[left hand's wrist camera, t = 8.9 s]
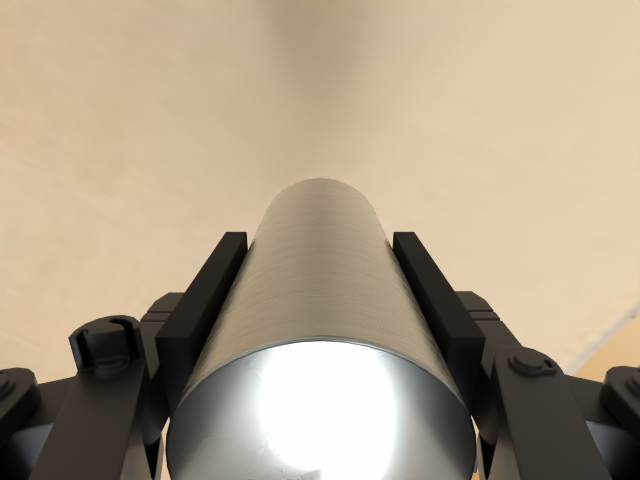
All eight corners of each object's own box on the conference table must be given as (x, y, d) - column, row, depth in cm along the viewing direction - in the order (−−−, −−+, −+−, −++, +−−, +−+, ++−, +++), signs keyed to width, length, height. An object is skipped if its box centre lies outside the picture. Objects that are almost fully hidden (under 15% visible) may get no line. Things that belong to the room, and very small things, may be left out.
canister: (245, 195, 17) (108, 379, 6) (365, 163, 16) (456, 301, 5) (281, 300, 19) (227, 583, 8) (389, 274, 18) (493, 539, 7)
